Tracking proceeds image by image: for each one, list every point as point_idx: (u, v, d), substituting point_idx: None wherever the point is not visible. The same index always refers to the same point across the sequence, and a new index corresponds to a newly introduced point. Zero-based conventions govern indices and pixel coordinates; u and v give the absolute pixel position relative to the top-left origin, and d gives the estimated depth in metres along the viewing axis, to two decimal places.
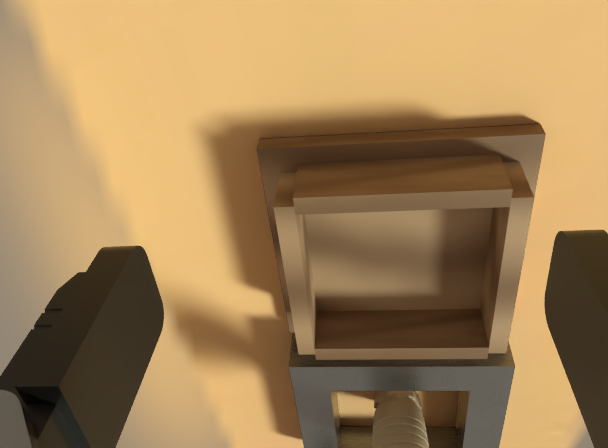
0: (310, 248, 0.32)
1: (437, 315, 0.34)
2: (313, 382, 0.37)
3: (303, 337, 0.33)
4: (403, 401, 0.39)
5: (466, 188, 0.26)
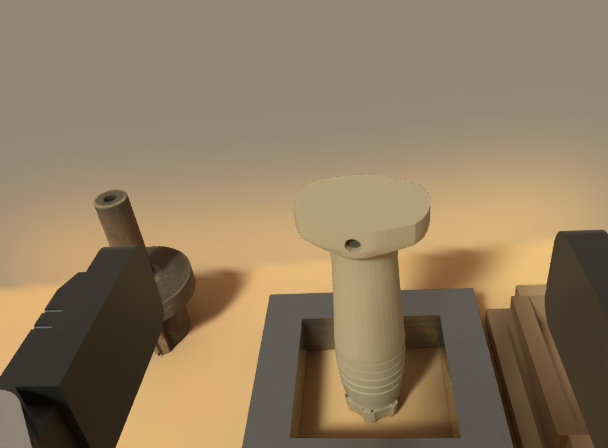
0: None
1: None
2: (451, 303, 0.37)
3: (542, 289, 0.36)
4: None
5: None
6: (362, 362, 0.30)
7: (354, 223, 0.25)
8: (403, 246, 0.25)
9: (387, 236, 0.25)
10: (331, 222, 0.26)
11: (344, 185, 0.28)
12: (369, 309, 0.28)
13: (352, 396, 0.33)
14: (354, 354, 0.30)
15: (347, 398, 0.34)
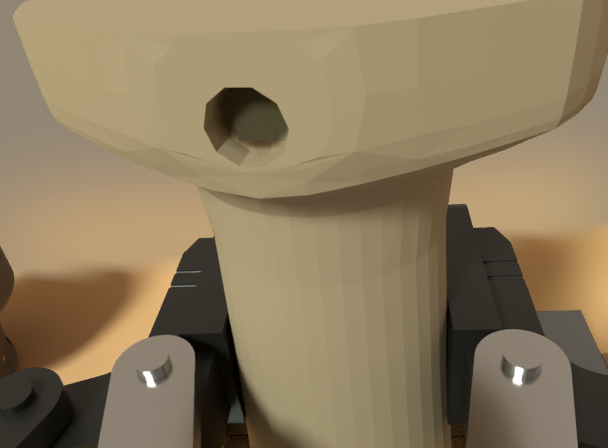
0: None
1: None
2: None
3: None
4: None
5: None
6: None
7: (255, 12, 0.05)
8: (504, 134, 0.05)
9: (428, 62, 0.04)
10: (143, 18, 0.05)
11: None
12: (345, 401, 0.08)
13: None
14: None
15: None
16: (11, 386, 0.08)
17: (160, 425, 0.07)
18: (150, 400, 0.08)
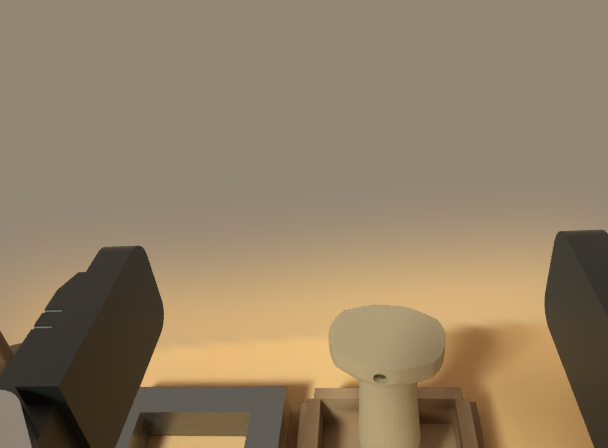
0: None
1: None
2: (263, 401, 0.45)
3: (334, 392, 0.43)
4: None
5: None
6: None
7: (382, 359, 0.30)
8: (422, 379, 0.30)
9: (410, 373, 0.30)
10: (362, 357, 0.30)
11: (371, 316, 0.33)
12: (392, 421, 0.33)
13: None
14: None
15: None
16: None
17: None
18: None
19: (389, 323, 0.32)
